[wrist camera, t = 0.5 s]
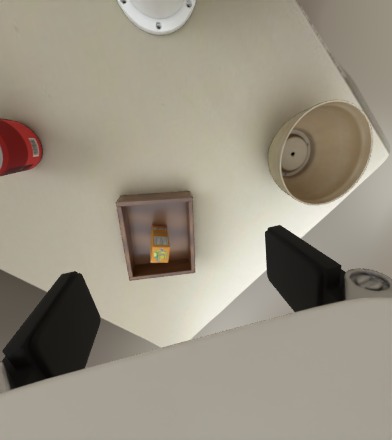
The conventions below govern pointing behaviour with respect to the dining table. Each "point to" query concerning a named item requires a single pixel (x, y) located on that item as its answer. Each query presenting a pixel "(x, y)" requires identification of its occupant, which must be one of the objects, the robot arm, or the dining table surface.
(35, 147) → the canned food
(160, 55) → the dining table surface
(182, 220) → the wooden tray
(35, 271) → the dining table surface
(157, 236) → the supplement box
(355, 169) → the planter bowl
